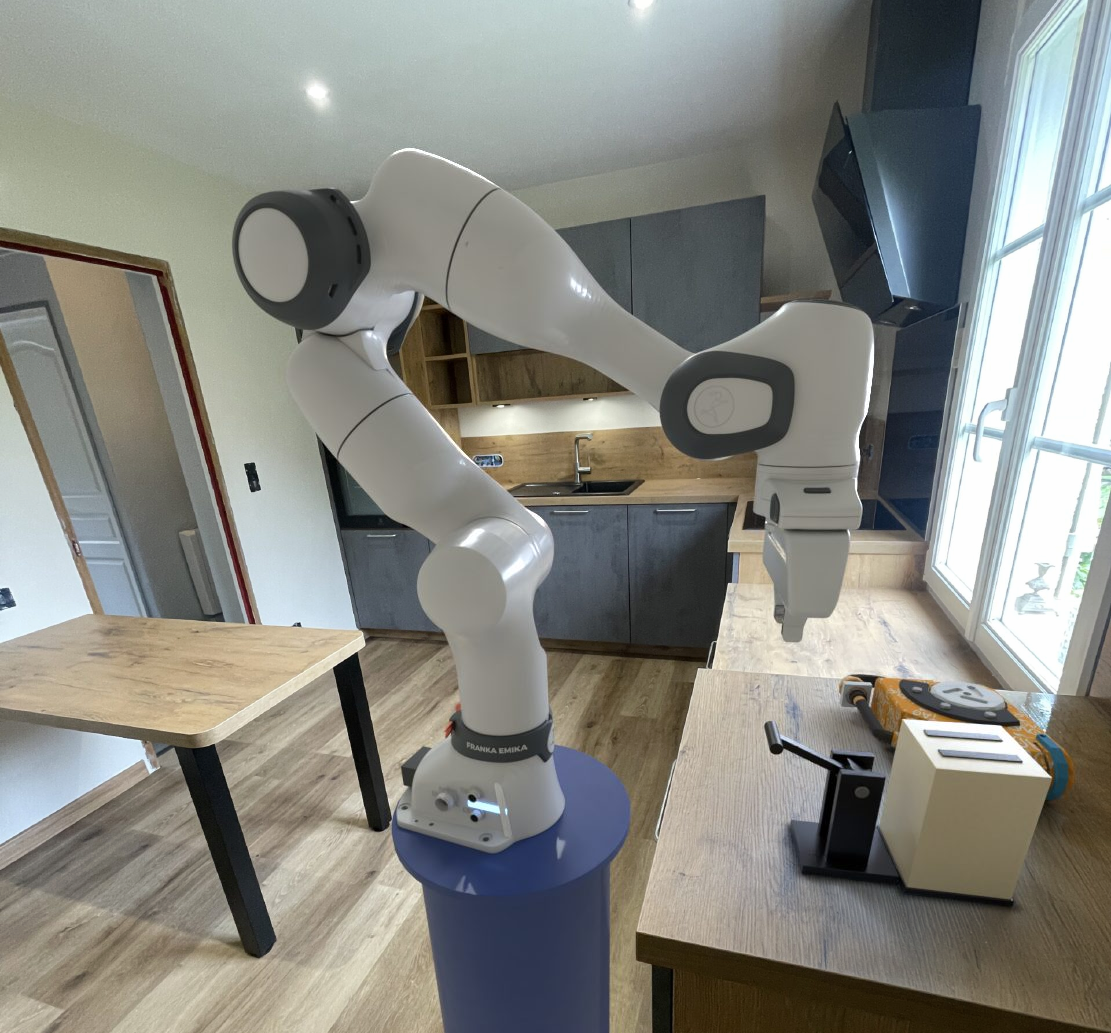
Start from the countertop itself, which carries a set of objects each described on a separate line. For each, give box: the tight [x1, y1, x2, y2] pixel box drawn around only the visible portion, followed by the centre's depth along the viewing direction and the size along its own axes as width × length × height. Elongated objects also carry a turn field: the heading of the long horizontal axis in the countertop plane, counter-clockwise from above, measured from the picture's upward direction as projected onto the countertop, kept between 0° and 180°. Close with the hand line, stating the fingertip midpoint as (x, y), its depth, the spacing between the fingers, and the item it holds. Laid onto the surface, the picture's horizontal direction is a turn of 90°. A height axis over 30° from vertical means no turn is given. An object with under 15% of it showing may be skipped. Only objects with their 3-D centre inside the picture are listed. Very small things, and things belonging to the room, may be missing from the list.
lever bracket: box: [789, 748, 899, 886], centre depth 66 cm, size 10×8×13 cm
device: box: [838, 673, 1076, 801], centre depth 88 cm, size 23×8×30 cm
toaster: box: [875, 719, 1052, 907], centre depth 64 cm, size 10×10×16 cm
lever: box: [763, 720, 871, 779], centre depth 65 cm, size 12×5×2 cm, turn 78°
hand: (786, 630), depth 60 cm, fingers open, 4 cm apart
